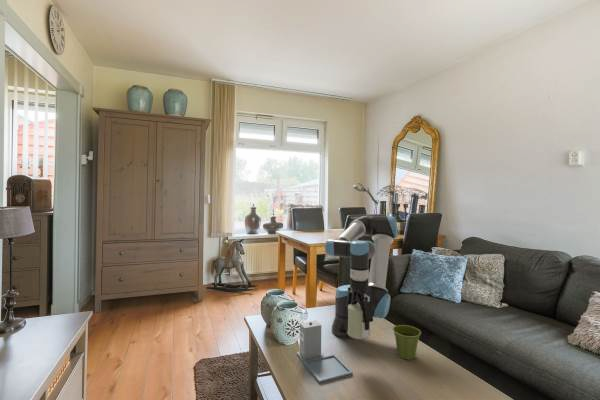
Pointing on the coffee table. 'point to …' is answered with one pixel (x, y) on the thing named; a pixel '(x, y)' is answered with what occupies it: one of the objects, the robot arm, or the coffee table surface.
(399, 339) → the plant pot
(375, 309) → the robot arm
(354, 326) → the can
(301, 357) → the box
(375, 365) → the coffee table surface
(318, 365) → the tray
